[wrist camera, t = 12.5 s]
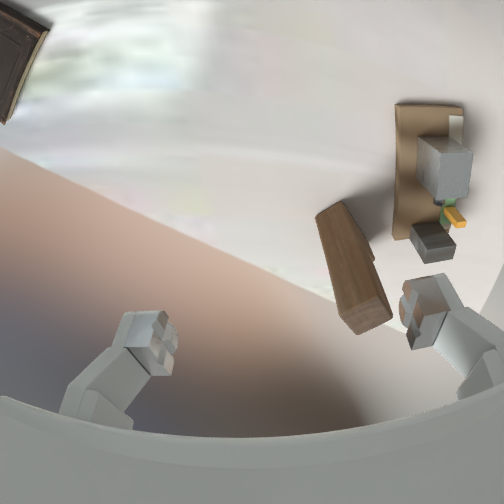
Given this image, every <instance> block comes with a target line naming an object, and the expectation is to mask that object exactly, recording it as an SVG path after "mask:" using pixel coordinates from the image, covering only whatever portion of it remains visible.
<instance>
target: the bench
mask: <svg viewBox="0 0 504 504" xmlns="http://www.w3.org/2000/svg"><path fill="white" fill-rule="evenodd" d="M395 121H396V177H395V199H394V214H393V227H392V236H393V238H394V240H395V241H396V240H403V239H410V240H411V242H412V244H413V245H414V247H415V249H416V250H417V252H418V254H419V256H420V257H421V259H422V261H423V263H424V264H428V263H433V262H439V261H445V260H450V259H453V256H454V253H455V249H456V244H455V242H454V241H453V240H452V238H451V237H450V236H449V234H448V233H449V229H450V227H451V222H450V221H449V219H448V218H447V217H446V216H445V215H444V207H455V202H456V198H454V199H446V200H445V205H444V206H436V205H434V204H433V196H432V195H431V194H430V193H429V192H428V191H427V190H426V189H425V188H424V186H423V185H422V184H421V183H420V182H419V181H418V180H417V179H416V170H417V145H418V136H449V137H450V138H452V139H454V140H455V141H457V142H458V143H460V144H461V145H462V137H463V109H462V108H460V107H458V106H446V105H416V104H395Z"/></svg>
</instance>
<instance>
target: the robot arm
mask: <svg viewBox="0 0 504 504" xmlns="http://www.w3.org/2000/svg"><path fill="white" fill-rule="evenodd" d="M402 290H403V292H404V295H403V296H402V297H401V298H400V301H399V315H400V319H401V322H402V325H404V326H405V327H406V328H408V330H407V333H406V336H407V339H408V342H409V345H410V348H411V350H416V349H420V348H425V347H429V346H433V348H435V350H436V351H438V352H439V353H440V354H441V355H442V356H443V357H444V358H445V359H446V360H447V361H448V362H449V363H450V364H451V365H452V366H453V367H454V368H455V369H456V370H457V371H458V372H459V373H460V374H461V375H462V376H463V377H464V378H465V380H464V381H463V383H462V384H461V385H460V387H459V388H458V389H457V391H456V393H457V397H458V400H459V401H456V402H453V403H450V404H448V405H444V406H442V407H438V408H435V409H432V410H429V411H425V412H422V413H418V414H415V415H411V416H407V417H403V418H400V419H395V420H391V421H387V422H383V423H377V424H373V425H368V426H362V427H357V428H351V429H345V430H339V431H332V432H324V433H316V434H307V435H298V436H297V435H296V436H283V437H267V438H266V437H264V438H209V437H189V436H177V435H166V434H157V433H149V432H142V431H135V430H132V427H133V420H132V419H131V418H130V417H129V416H127V415H126V414H124V413H123V412H124V411H125V409H126V408H127V407H128V406H129V404H130V403H131V401H132V400H133V399H134V398H135V396H136V395H137V394H138V393H139V391H140V390H141V389H142V387H143V386H144V385H145V384H146V382H147V381H148V380H149V378H150V377H151V375H153V376H167V375H168V376H169V375H171V373H172V368H173V364H174V359H173V357H172V354H173V353H174V352H175V351H176V350H177V345H178V335H177V331H176V329H175V327H174V325H172V324H171V323H169V322H168V318H169V317H168V315H167V314H166V312H165V311H138V312H126V313H125V314H124V315H123V318H122V320H121V323H120V325H119V328H118V330H117V333H116V336H115V339H114V341H113V344H112V346H111V347H108V348H107V349H106V350H105V351H104V352H103V353H101V354H100V355H99V356H98V357H97V358H96V359H95V360H94V361H93V362H92V363H91V364H90V365H89V366H88V367H87V368H86V369H85V370H84V371H83V372H82V373H81V374H79V375H78V377H76V378H75V379H74V380H73V381H72V382H71V383H70V384H69V385H68V388H67V390H66V393H65V396H64V399H63V402H62V405H61V408H60V411H59V414H56V413H53V412H50V411H46V410H43V409H40V408H37V407H34V406H31V405H28V404H25V403H22V402H19V401H17V400H14V399H12V398H9V397H6V396H0V504H504V331H502V330H501V329H500V328H498V327H497V326H495V325H494V324H493V323H491V322H490V321H488V320H487V319H485V318H484V317H482V316H481V315H479V314H478V313H476V312H475V311H473V310H472V309H470V308H469V307H464V306H463V304H462V302H461V300H460V298H459V297H458V295H457V293H456V291H455V289H454V288H453V286H452V284H451V282H450V281H449V279H448V277H447V276H446V275H445V274H444V273H442V274H437V275H432V276H426V277H421V278H416V279H411V280H405V282H404V283H403V287H402Z"/></svg>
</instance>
